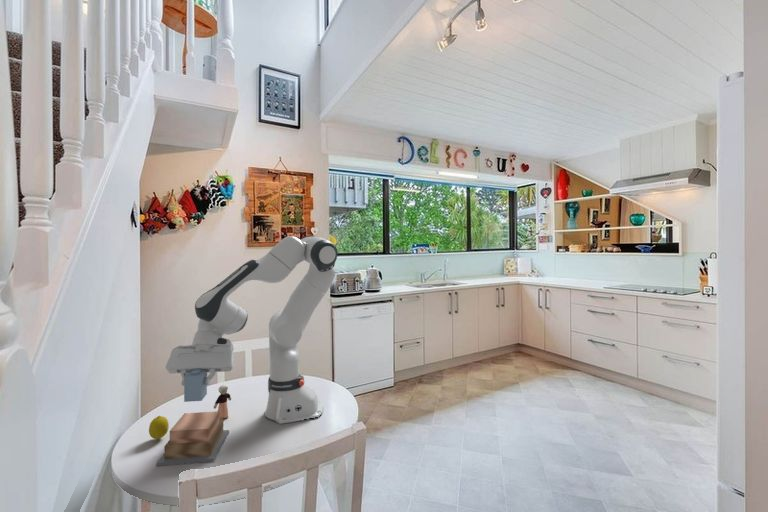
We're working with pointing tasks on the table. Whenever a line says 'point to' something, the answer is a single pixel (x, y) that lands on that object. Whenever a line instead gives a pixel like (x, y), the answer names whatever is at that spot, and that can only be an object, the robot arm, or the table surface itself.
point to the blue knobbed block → (195, 385)
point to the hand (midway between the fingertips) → (195, 384)
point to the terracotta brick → (194, 435)
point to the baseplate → (196, 459)
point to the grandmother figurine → (222, 402)
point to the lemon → (158, 427)
